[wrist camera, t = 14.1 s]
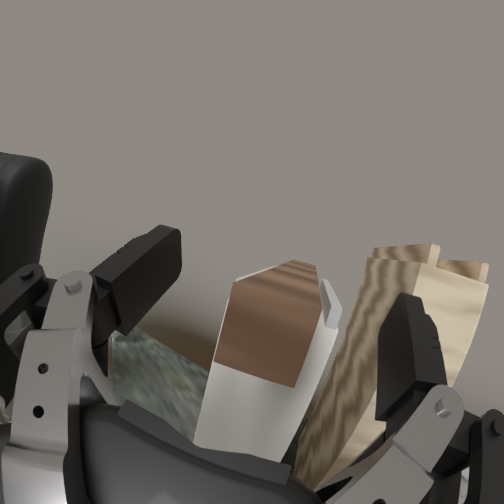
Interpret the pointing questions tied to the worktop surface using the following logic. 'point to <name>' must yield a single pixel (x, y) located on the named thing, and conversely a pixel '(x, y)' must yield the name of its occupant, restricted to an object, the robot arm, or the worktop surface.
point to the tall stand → (366, 349)
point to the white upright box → (264, 396)
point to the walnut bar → (271, 322)
